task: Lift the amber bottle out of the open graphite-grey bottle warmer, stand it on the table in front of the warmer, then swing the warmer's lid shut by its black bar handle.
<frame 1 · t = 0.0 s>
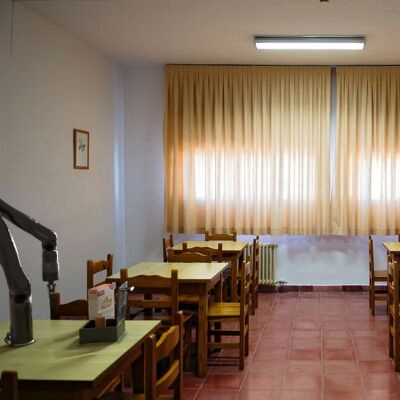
hand: (52, 303, 242), 17 cm above the table, tool pointing down, fingers open, 8 cm apart
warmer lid: (126, 303, 241), point 17 cm above the table, hinge at 95.0°
warmer: (103, 339, 240), on the table
cracker box: (102, 326, 263), on the table
bottle: (101, 337, 240), point 1 cm above the table, touching warmer
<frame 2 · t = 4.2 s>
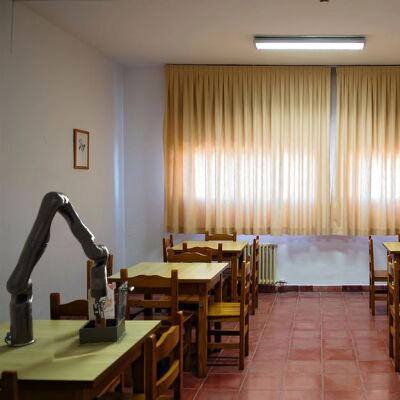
hand: (100, 321, 239), 9 cm above the table, tool pointing down, fingers closed on bottle, 4 cm apart
bottle: (101, 337, 240), point 1 cm above the table, touching gripper, warmer
everything else where it was.
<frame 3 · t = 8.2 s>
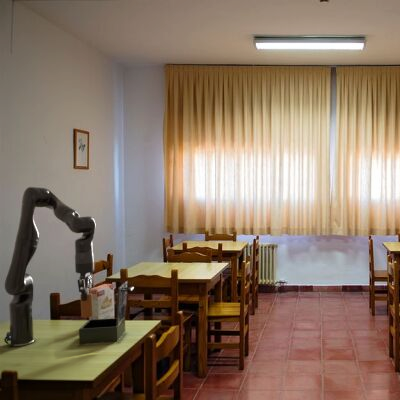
hand: (86, 299, 223), 24 cm above the table, tool pointing down, fingers closed on bottle, 4 cm apart
bottle: (87, 316, 223), point 16 cm above the table, touching gripper
everything else where it was.
when the fingers open (8 cm above the table, at t = 12.1 s): bottle stays where it is, on the table.
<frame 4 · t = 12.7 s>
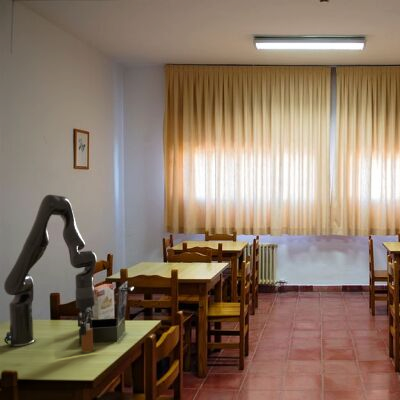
hand: (86, 331, 222), 9 cm above the table, tool pointing down, fingers open, 8 cm apart
bottle: (87, 351, 223), on the table
everything else where it was.
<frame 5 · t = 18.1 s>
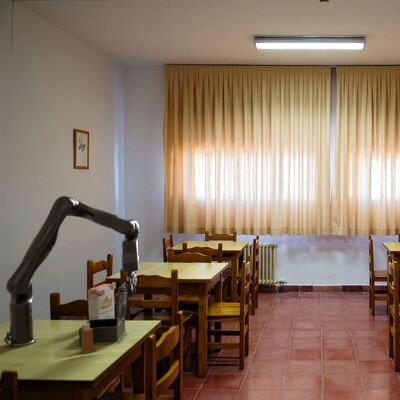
hand: (131, 295, 241), 21 cm above the table, tool pointing down, fingers closed on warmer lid, 6 cm apart
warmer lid: (126, 303, 241), point 17 cm above the table, hinge at 95.0°, touching gripper
everything else where it was.
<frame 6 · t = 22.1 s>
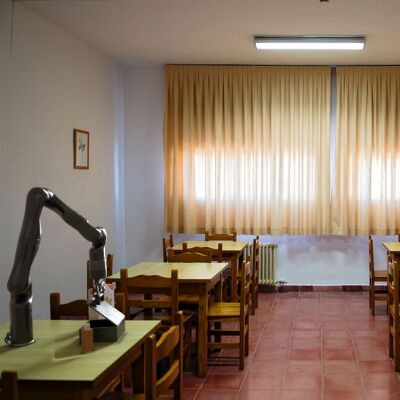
hand: (100, 303, 239), 18 cm above the table, tool pointing down, fingers closed on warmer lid, 6 cm apart
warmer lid: (108, 306, 240), point 16 cm above the table, hinge at 41.3°, touching gripper
everything else where it was.
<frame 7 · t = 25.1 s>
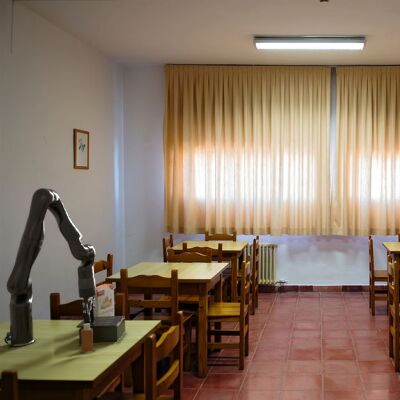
hand: (89, 320, 239), 9 cm above the table, tool pointing down, fingers closed on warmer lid, 6 cm apart
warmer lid: (101, 317, 239), point 11 cm above the table, hinge at 2.3°, touching gripper
everything else where it was.
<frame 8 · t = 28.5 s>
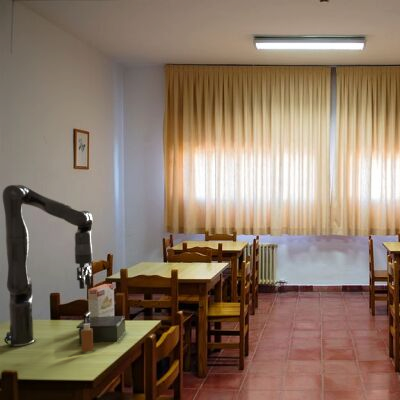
hand: (85, 286, 238), 26 cm above the table, tool pointing down, fingers open, 8 cm apart
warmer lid: (101, 317, 239), point 11 cm above the table, hinge at 1.5°
everything else where it was.
at the end: bottle inside the target area (0.1 cm from its centre), on the table; bottle tilted 0°; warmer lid at +2° (first picture: +95°) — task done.
